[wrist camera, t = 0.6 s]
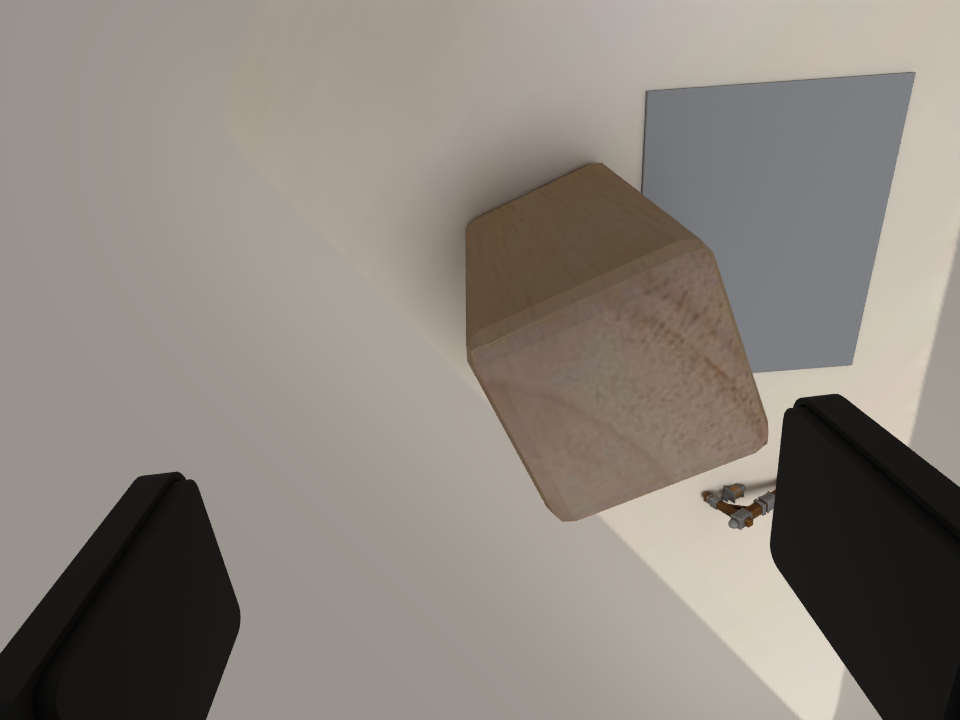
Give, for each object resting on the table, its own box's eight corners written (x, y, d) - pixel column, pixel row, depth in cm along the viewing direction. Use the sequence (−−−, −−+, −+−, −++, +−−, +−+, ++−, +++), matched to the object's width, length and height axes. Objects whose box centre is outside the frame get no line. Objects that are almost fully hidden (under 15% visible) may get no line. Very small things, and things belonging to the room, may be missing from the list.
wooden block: (520, 347, 45) (558, 538, 27) (459, 222, 41) (456, 351, 23) (652, 289, 44) (784, 452, 26) (601, 154, 40) (715, 235, 22)
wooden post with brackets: (694, 492, 51) (738, 522, 47) (766, 454, 54) (813, 480, 50) (695, 510, 52) (738, 541, 48) (765, 471, 54) (811, 498, 51)
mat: (646, 90, 38) (647, 91, 38) (912, 72, 39) (915, 72, 38) (632, 380, 47) (633, 382, 47) (849, 363, 47) (851, 365, 47)
